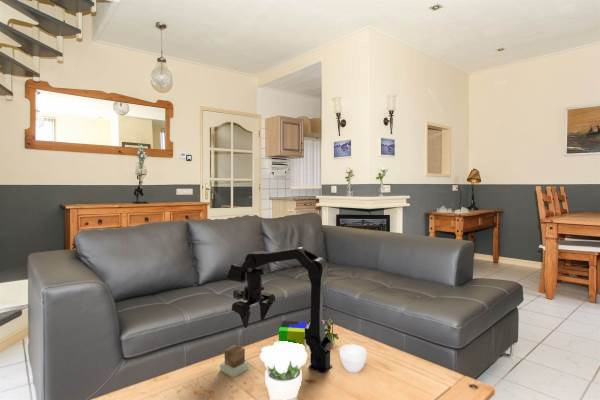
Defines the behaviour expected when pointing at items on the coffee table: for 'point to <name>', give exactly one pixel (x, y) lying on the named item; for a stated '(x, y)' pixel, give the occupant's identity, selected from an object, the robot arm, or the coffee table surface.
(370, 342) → the coffee table surface
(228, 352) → the walnut cube
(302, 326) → the puzzle toy
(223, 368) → the pale green block
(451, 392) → the coffee table surface
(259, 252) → the robot arm
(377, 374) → the coffee table surface
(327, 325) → the passion flower
